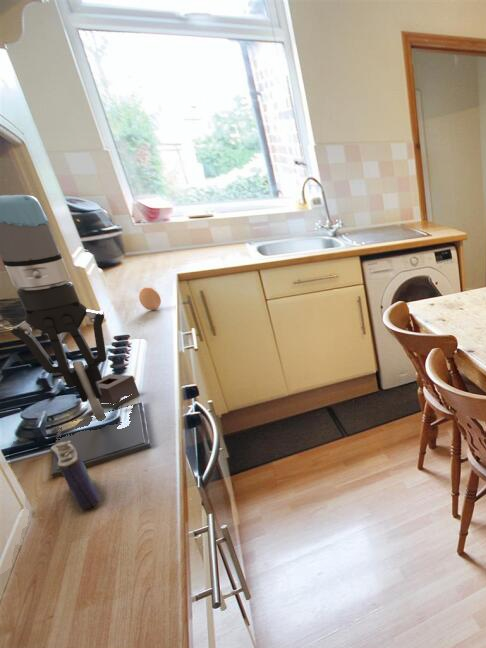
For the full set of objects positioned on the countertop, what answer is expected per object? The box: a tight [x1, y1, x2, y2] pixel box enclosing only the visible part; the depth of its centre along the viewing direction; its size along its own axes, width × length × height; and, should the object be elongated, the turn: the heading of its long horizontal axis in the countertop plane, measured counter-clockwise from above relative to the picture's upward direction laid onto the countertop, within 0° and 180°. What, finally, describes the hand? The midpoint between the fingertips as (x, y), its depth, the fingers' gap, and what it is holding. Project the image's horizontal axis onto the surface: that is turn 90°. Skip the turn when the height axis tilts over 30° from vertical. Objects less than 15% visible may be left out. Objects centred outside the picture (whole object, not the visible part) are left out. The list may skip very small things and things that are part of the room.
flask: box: [50, 440, 101, 512], centre depth 75 cm, size 9×3×11 cm, turn 50°
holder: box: [97, 373, 140, 409], centre depth 105 cm, size 6×6×5 cm
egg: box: [138, 286, 162, 311], centre depth 161 cm, size 6×6×8 cm
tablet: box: [50, 401, 152, 479], centre depth 92 cm, size 20×14×1 cm
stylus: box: [72, 359, 106, 421], centre depth 93 cm, size 2×2×14 cm
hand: (91, 397), depth 94 cm, fingers closed on stylus, 1 cm apart
